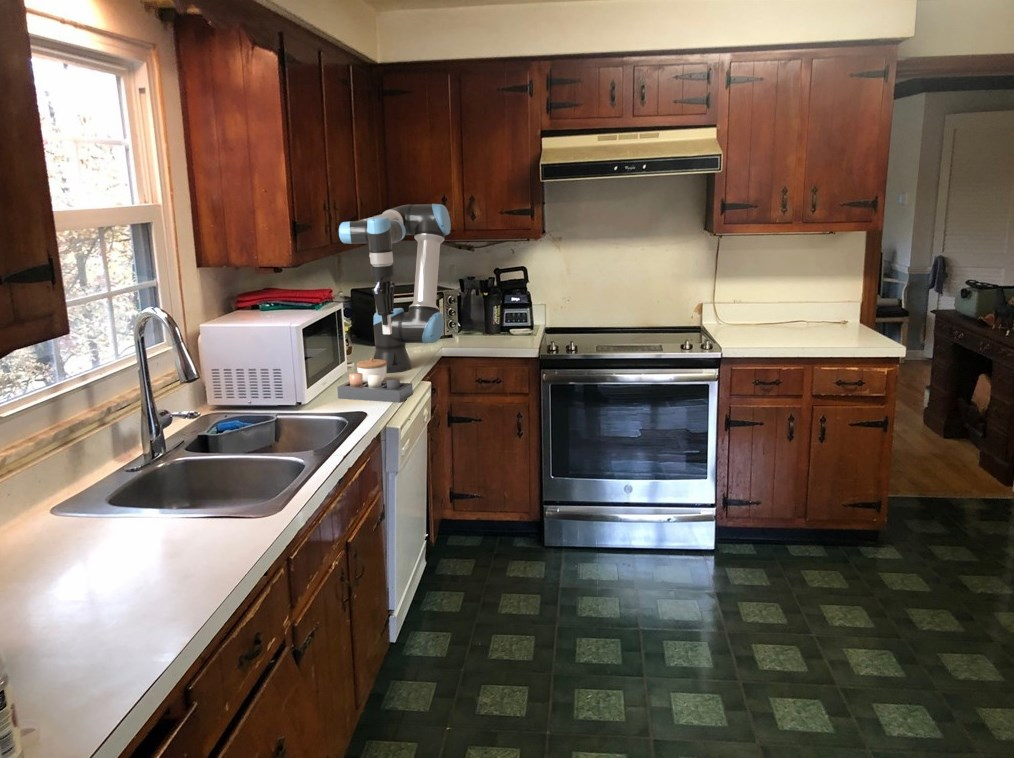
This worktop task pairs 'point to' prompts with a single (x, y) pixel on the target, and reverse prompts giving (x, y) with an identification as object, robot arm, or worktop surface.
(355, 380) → the pink rounded cylinder
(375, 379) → the cream cup
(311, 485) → the worktop surface
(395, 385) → the grey cup
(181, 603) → the worktop surface
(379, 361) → the lidded jar
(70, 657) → the worktop surface
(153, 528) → the worktop surface
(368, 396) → the dark grey tray
